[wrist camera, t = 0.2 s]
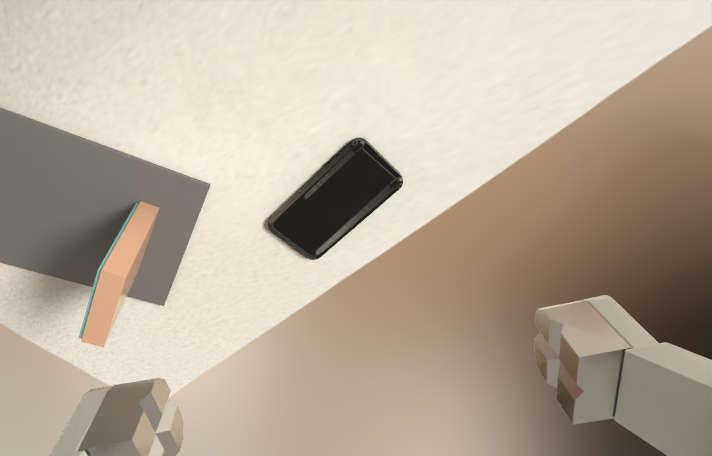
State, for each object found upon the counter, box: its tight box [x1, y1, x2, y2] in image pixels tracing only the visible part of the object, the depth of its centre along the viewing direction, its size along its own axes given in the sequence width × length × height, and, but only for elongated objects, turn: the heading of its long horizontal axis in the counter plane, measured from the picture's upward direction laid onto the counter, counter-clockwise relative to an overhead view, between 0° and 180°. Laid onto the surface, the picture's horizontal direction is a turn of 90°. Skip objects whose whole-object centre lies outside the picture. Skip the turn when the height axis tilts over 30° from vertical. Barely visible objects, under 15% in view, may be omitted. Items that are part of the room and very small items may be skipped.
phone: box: [268, 138, 403, 260], centre depth 53 cm, size 8×1×15 cm
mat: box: [0, 108, 210, 306], centre depth 50 cm, size 22×18×1 cm
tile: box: [79, 201, 159, 347], centre depth 47 cm, size 2×9×12 cm, turn 153°
